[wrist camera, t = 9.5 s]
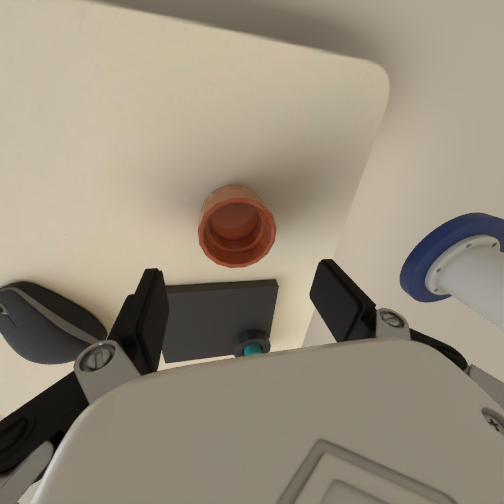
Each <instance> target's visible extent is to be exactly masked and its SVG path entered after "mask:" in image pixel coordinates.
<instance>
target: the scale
mask: <svg viewBox="0 0 504 504" xmlns="http://www.w3.org/2000/svg"><path fill="white" fill-rule="evenodd" d="M165 287H166V292H167V297H168V302H169V316H168V321H167V326H166V331H165V336H164V340H163V345H162V353H163V356H164V360H165V363H173V362H181V361H188V360H196V359H204V358H211V357H219V356H227V355H234V356H235V357H236V358H237V357H243V356H244V348H245V347H247V346H249V345H252V344H258V345H260V346H261V351H262V354H263V353H268V352H269V351H270V347H271V345H270V341H269V337H270V332H271V326H272V321H273V315H274V310H275V304H276V298H277V293H278V287H279V286H278V283H277V281H276V280H261V281H244V282H228V283H212V284H196V285H179V286H165Z"/></svg>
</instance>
